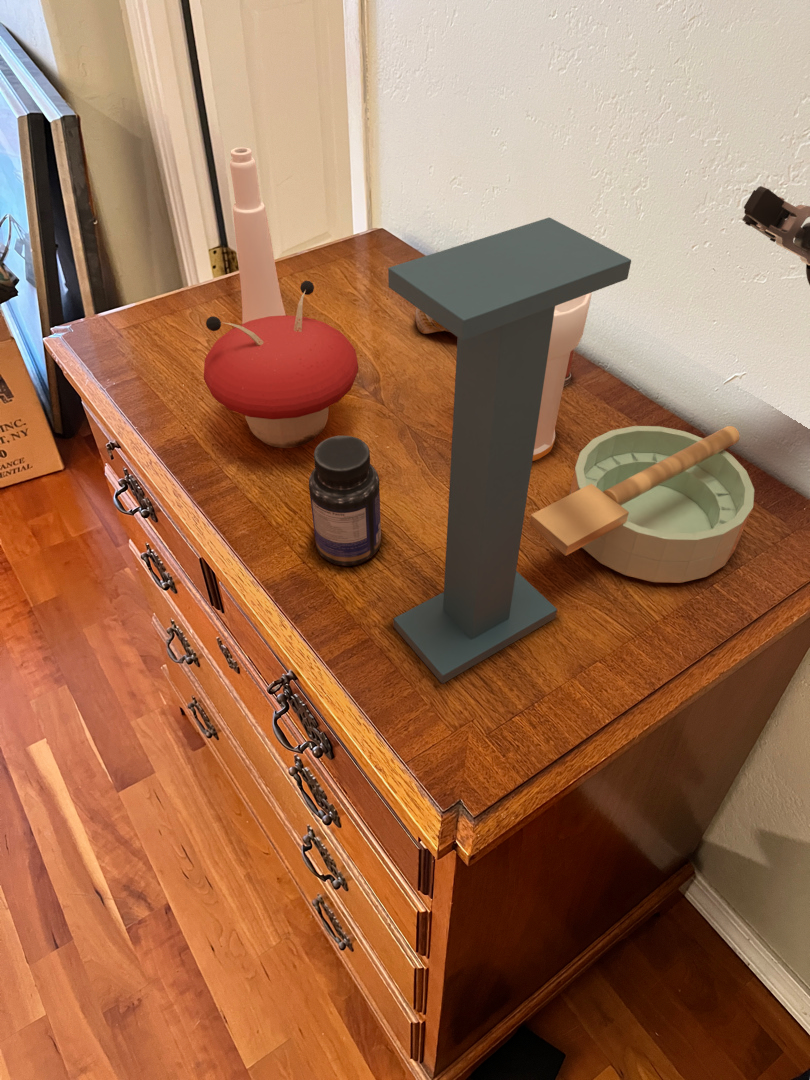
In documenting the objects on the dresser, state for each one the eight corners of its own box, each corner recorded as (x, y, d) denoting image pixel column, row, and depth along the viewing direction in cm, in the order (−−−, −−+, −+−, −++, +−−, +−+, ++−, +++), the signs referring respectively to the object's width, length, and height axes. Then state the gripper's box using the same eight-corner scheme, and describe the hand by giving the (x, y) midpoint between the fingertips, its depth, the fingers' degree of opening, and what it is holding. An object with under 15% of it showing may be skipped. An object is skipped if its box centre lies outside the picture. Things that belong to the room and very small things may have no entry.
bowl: (769, 541, 74) (791, 493, 70) (652, 613, 68) (669, 566, 64) (646, 454, 83) (658, 407, 79) (533, 511, 77) (540, 463, 73)
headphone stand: (555, 618, 68) (631, 259, 45) (442, 684, 63) (463, 320, 40) (503, 568, 72) (549, 216, 49) (393, 627, 67) (387, 267, 44)
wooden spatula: (709, 430, 76) (715, 415, 75) (748, 454, 74) (754, 439, 72) (529, 524, 67) (531, 509, 66) (565, 556, 64) (568, 540, 63)
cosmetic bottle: (253, 351, 97) (224, 164, 82) (235, 328, 101) (204, 146, 86) (298, 337, 100) (278, 154, 84) (278, 316, 103) (256, 137, 88)
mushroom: (315, 371, 94) (303, 249, 84) (389, 438, 85) (387, 311, 75) (192, 416, 88) (163, 291, 77) (258, 494, 79) (235, 364, 68)
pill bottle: (344, 513, 77) (337, 420, 69) (394, 539, 74) (393, 446, 67) (302, 550, 73) (289, 457, 66) (353, 578, 71) (347, 485, 63)
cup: (561, 477, 81) (589, 323, 68) (451, 463, 82) (459, 310, 70) (567, 413, 88) (594, 264, 76) (467, 401, 90) (477, 253, 78)
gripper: (824, 202, 73) (752, 139, 62) (976, 261, 65) (926, 201, 54) (775, 279, 76) (698, 233, 65) (914, 344, 68) (854, 305, 57)
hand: (801, 219), depth 59 cm, fingers open, 8 cm apart
